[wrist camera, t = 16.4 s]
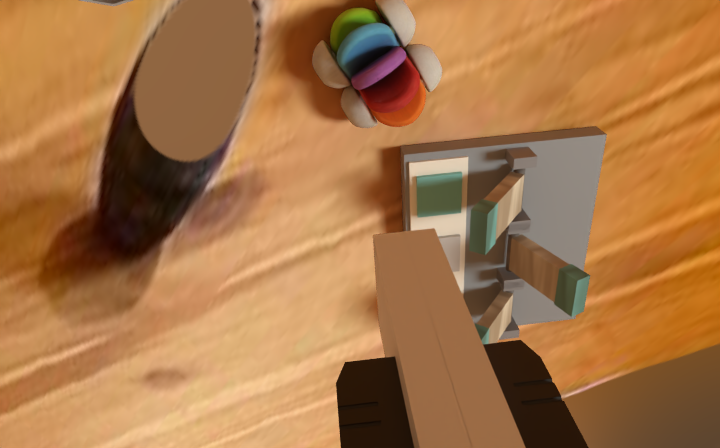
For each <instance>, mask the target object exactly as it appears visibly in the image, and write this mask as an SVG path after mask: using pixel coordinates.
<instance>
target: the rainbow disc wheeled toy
mask: <svg viewBox="0 0 720 448" xmlns="http://www.w3.org/2000/svg"><path fill="white" fill-rule="evenodd" d="M375 3H376V5H377V7H378V9H379V11H380V13H381V14H382V16H383V18H384V19H385V21H386V23H387V24H388V26H387V25H385V24H383V23H382V20H381V18H380V16H379V15H378V14H377V12H375V11H373V10H369V9H366V8H351V9H348V10H346V11H344V12H343V13H341V14H340V15H339V16H338V17H337V18H336V20H335V21H334V23H333V25H332V28H331V33H330V46H331V49H330V47H329V46H328V45H327V43H326V42H325V41H323V40H322V41H320V42H319V43H318V45H317V46H316V48H315V50H314V52H313V56H312V65H313V68H314V70H315V71H316V73H317V75H318V76H319V78H320V79H321V80H322V82H323V83H324V84H325V85H327V86H329V87H332V88H345V87H346V88H345V89H344V91H343V93H342V97H341V106H342V109H343V111H344V112H345V114H346V116H347V117H348V119H349V120H350V122H351V123H352V124H353V125H355V126H357V127H361V128H370V127H374V126H376V125H377V120H378V121H379V122H381V123H383V124H385V125H388V126H392V127H401V126H406V125H409V124H411V123H413V122H414V121H415V120H416V119H417V118H418V117H419V115H420V114H421V112H422V110H423V108H424V105H425V100H426V92H425V88H426V89H427V90H428V92H431V91H433V90H434V89H435V88H436V86H437V85H438V83H439V81H440V79H441V75H442V67H441V65H440V62H439V60H438V59H437V57H436V55H435V54H434V52H433V51H432V49H431V48H430V47H428V46H425V45H421V44H414V45H409V46H407V45H408V43H409V42H410V41H411V39H412V37H413V35H414V32H415V25H416V23H415V19H414V17H413V15H412V13H411V12H410V10H409V8H408V7H407V5H406V4H405V2H404V1H403V0H376V1H375ZM399 46H403V47H405V46H406V47H405V51H404V50H403V49H402V48H401V47H399ZM406 54H407V56H408V57H407V56H406ZM351 81H352V82H351ZM424 86H425V87H424ZM376 119H377V120H376Z"/></svg>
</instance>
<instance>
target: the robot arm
mask: <svg viewBox="0 0 720 448" xmlns="http://www.w3.org/2000/svg"><path fill="white" fill-rule="evenodd" d="M373 244H374V260H375V275H376V290H377V306H378V321H379V327H380V332H381V338H382V343H383V348H384V354H385V358H377V359H369V360H360V361H352V362H345V364H344V366H343V368H342V371H341V373H340V375H339V378H338V380H337V382H336V388H337V402H338V415H339V427H340V441H341V448H588V446H587V444H586V442H585V440H584V438H583V436H582V434H581V433H580V431H579V429H578V427H577V425H576V423H575V421H574V419H573V417H572V416H571V414H570V412H569V410H568V408H567V406H566V404H565V402H564V401H562V399H561V395H560V393H559V391H558V389H557V387H556V385H555V384H554V383H553V382H552V378H551V376H550V374H549V372H548V370H547V369H546V367H545V365H544V363H543V361H542V359H541V357H540V356H539V355H537V354H536V353H535V352H534V351H533V350H532V349H530V348H529V347H528V346H527V345H526V344H525V343H523V342H522V341H521V340H516V341H508V342H499V343H491V344H482V341H481V339H480V337H479V334H478V332H477V329H476V327H475V324H474V322H473V320H472V317H471V315H470V312H469V310H468V308H467V305H466V303H465V300H464V298H463V296H462V293H461V291H460V288H459V286H458V284H457V281H456V279H455V276H454V274H453V271H452V269H451V267H450V264H449V262H448V259H447V257H446V255H445V252H444V250H443V247H442V245H441V243H440V240H439V238H438V235H437V233H436V231H435V228H432V229H423V230H413V231H404V232H395V233H385V234H376V235H373Z"/></svg>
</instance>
